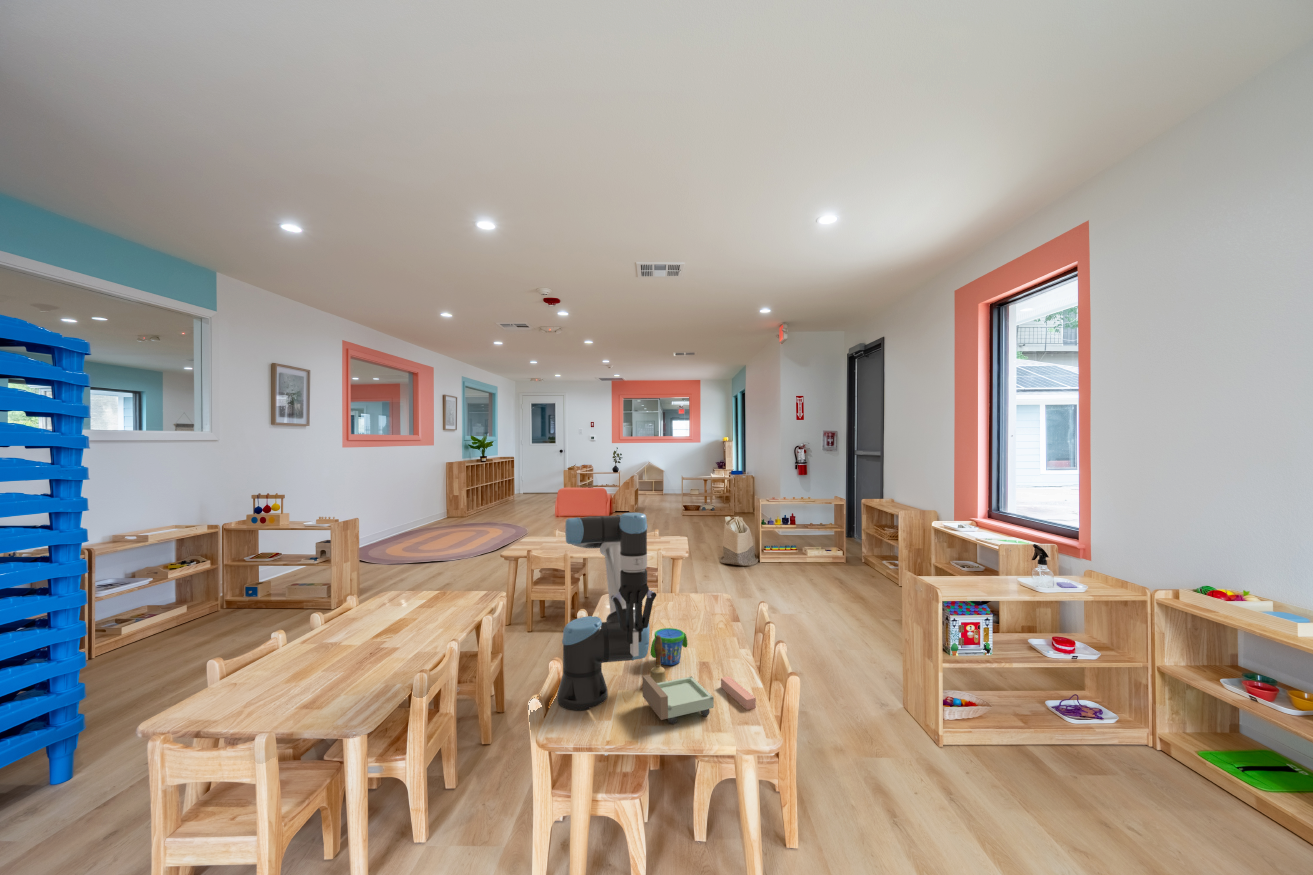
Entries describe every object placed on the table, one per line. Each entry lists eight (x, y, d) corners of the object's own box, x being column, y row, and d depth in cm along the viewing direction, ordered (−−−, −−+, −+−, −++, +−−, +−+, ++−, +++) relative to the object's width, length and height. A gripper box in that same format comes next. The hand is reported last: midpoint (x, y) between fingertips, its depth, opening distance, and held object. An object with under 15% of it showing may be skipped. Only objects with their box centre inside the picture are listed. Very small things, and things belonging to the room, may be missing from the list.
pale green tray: (661, 728, 139) (660, 697, 139) (642, 704, 152) (642, 675, 152) (713, 716, 145) (713, 686, 145) (691, 693, 158) (691, 666, 158)
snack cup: (678, 651, 191) (678, 624, 191) (696, 661, 183) (695, 632, 183) (642, 661, 183) (642, 632, 183) (659, 672, 174) (659, 642, 174)
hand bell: (656, 677, 170) (655, 629, 170) (676, 685, 165) (675, 635, 165) (639, 687, 164) (639, 636, 164) (659, 695, 159) (659, 643, 159)
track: (658, 732, 138) (658, 719, 138) (638, 706, 152) (638, 694, 152) (755, 709, 150) (755, 697, 150) (729, 686, 163) (729, 676, 163)
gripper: (615, 574, 138) (616, 663, 138) (660, 569, 143) (661, 655, 142) (607, 568, 145) (607, 653, 144) (650, 564, 150) (651, 645, 149)
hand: (634, 654), depth 143 cm, fingers closed
